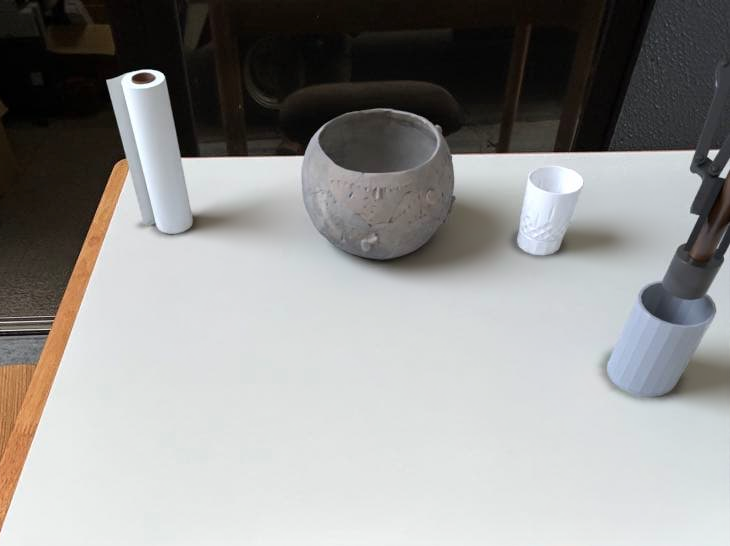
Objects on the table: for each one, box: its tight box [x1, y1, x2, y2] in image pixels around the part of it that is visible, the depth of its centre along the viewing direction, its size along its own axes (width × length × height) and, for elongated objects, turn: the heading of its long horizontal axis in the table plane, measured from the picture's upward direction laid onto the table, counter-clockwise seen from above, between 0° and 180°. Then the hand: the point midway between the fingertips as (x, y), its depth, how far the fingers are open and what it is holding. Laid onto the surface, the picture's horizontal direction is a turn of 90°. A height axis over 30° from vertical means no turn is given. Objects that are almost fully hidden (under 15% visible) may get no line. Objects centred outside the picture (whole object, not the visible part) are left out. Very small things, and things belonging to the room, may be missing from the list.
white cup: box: [516, 165, 585, 256], centre depth 99 cm, size 8×8×10 cm
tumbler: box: [606, 280, 717, 398], centre depth 82 cm, size 9×9×11 cm
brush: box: [661, 169, 730, 300], centre depth 68 cm, size 5×5×17 cm
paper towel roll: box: [106, 69, 194, 235], centre depth 99 cm, size 7×6×21 cm
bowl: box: [300, 107, 457, 261], centre depth 99 cm, size 23×23×15 cm
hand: (703, 251), depth 68 cm, fingers closed on brush, 2 cm apart
